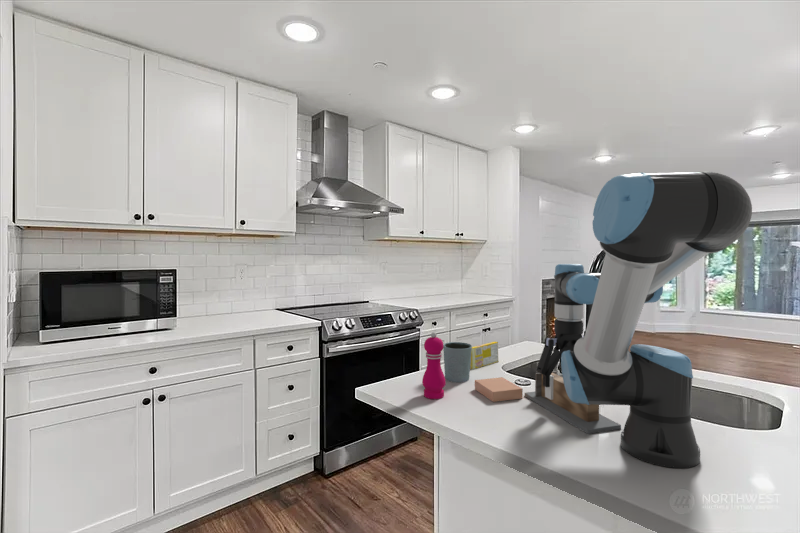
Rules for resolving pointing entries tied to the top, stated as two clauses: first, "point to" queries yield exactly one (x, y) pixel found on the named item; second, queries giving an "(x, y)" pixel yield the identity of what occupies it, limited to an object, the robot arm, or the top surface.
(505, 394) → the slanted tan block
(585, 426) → the charcoal mat
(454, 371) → the grey-blue cup
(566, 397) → the wooden block
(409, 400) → the top surface
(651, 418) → the robot arm
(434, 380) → the pepper mill
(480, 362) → the candy box
